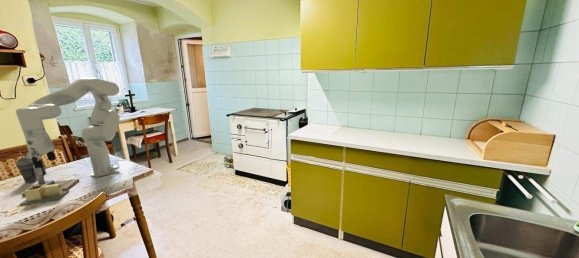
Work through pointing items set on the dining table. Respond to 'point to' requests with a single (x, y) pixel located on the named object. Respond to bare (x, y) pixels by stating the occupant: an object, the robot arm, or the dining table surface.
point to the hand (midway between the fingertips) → (46, 163)
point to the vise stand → (64, 184)
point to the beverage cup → (26, 169)
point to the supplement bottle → (43, 169)
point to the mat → (45, 199)
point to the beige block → (43, 192)
